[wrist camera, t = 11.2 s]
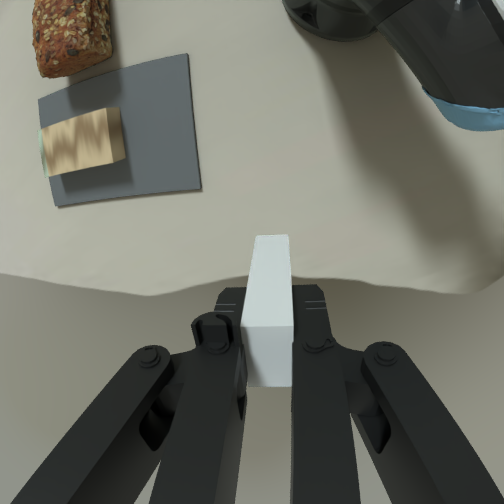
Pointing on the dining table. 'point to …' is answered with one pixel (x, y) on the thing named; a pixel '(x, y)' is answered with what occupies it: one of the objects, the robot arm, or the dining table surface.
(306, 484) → the robot arm
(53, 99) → the mat
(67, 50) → the bread
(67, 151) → the slab
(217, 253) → the dining table surface
